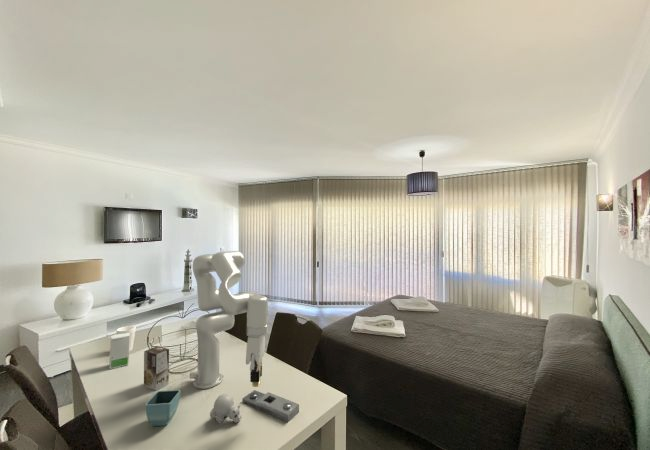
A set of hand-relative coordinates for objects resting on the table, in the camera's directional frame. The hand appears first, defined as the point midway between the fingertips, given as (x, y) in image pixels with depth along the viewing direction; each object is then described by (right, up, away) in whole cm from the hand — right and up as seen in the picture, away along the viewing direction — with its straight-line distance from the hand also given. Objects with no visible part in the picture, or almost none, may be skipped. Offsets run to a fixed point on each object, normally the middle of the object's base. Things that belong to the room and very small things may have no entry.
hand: (256, 378), depth 101 cm
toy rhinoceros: (-11, -16, 0) cm, 19 cm away
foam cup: (-94, -18, +61) cm, 114 cm away
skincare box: (-84, -17, +43) cm, 96 cm away
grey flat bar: (+3, -16, +8) cm, 18 cm away
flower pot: (-35, -16, 0) cm, 38 cm away
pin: (0, -2, 0) cm, 2 cm away
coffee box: (-52, -17, +24) cm, 60 cm away
